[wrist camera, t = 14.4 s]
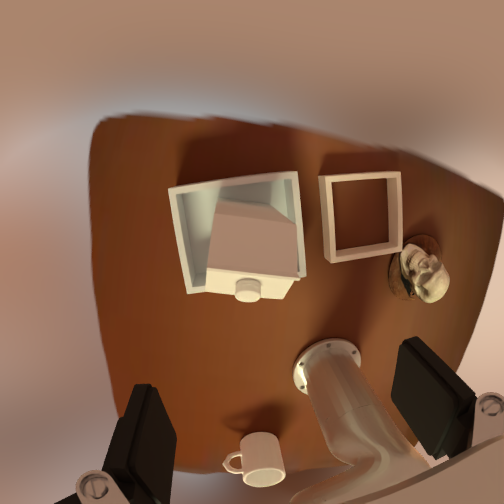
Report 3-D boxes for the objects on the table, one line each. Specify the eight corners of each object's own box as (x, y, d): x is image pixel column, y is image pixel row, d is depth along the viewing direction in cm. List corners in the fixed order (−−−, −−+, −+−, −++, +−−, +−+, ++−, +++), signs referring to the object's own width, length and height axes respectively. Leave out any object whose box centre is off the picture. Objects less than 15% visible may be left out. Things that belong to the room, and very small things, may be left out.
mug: (226, 427, 52) (227, 465, 42) (282, 432, 54) (291, 468, 44) (218, 449, 54) (218, 484, 44) (271, 453, 56) (277, 487, 46)
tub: (295, 262, 44) (306, 276, 38) (191, 277, 43) (187, 294, 37) (286, 170, 40) (297, 171, 34) (175, 186, 39) (168, 188, 34)
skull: (373, 269, 44) (432, 255, 36) (388, 232, 50) (437, 216, 42) (401, 319, 47) (454, 311, 39) (413, 280, 53) (459, 269, 45)
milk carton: (217, 197, 39) (212, 221, 21) (270, 204, 40) (309, 234, 22) (211, 248, 41) (202, 312, 23) (262, 255, 42) (291, 320, 24)
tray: (392, 246, 45) (402, 251, 42) (324, 257, 44) (330, 263, 41) (390, 171, 41) (400, 171, 38) (318, 175, 41) (325, 176, 38)
